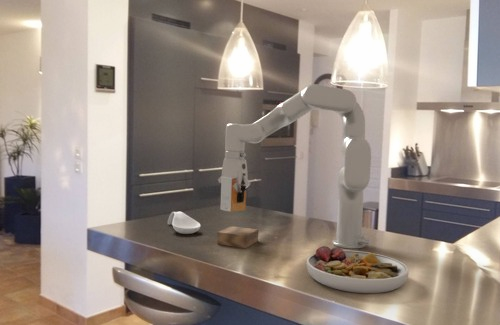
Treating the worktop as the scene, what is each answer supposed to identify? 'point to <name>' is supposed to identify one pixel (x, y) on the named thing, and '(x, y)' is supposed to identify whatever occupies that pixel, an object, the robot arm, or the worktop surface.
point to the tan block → (237, 236)
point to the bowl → (356, 270)
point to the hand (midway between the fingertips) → (233, 200)
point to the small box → (231, 195)
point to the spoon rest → (183, 223)
